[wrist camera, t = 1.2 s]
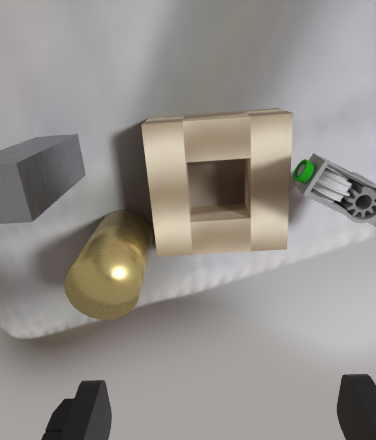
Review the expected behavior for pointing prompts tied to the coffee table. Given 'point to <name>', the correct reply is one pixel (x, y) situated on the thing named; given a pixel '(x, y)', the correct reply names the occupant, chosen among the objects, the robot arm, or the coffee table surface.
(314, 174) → the mechanical component
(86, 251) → the round brass bit
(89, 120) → the coffee table surface
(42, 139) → the bar
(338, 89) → the coffee table surface
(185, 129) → the socket block
